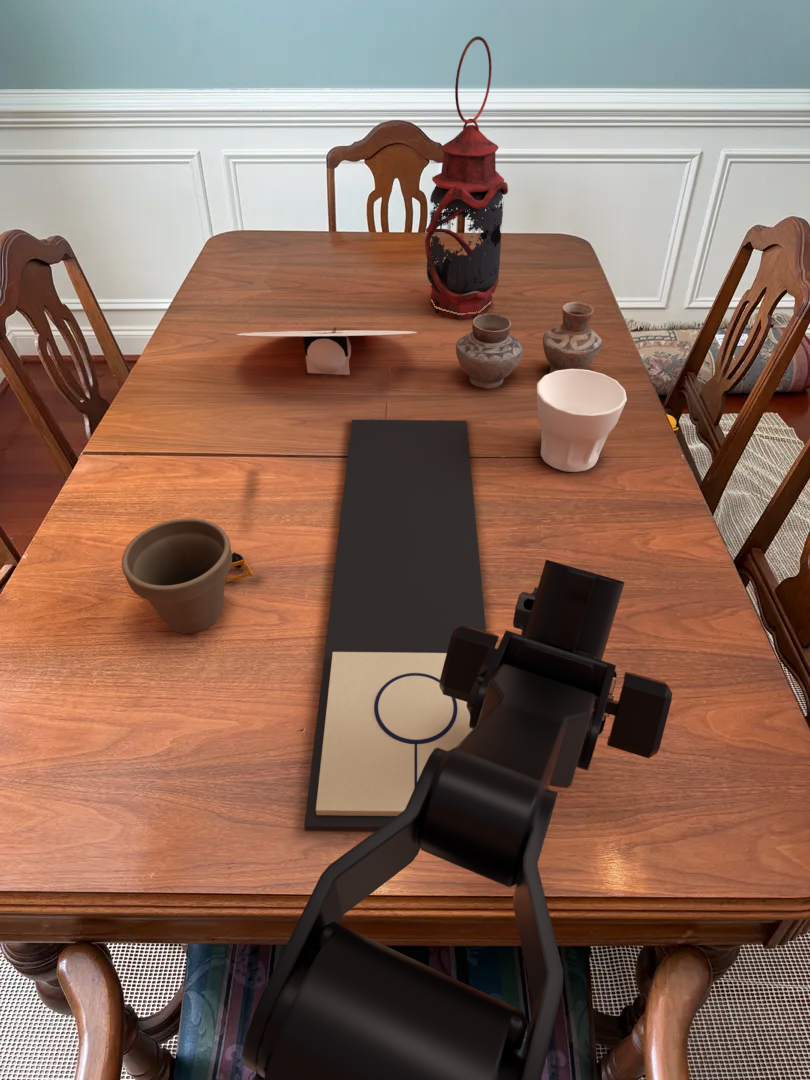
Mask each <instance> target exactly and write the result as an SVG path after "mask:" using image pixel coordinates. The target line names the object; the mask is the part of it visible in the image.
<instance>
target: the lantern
mask: <svg viewBox="0 0 810 1080" xmlns="http://www.w3.org/2000/svg"><path fill="white" fill-rule="evenodd" d="M476 41H481V42H482V44H483V45H484V47H485V49H486V50H485V51H486V53H487V60H488V78H487V86H486V92H485V95H484V99H483V102H482V105H481V106H480V109H479V111H478V112H477V114H476V115H475V117H474V118H468V119H466V118H464V116H463V114H462V112H461V109H460V103H459V81H460V74H461V70H462V64H463V61H464V58H465V56H466V53H467V52H468V50H469V48H470V46H471V45H472V44H473V43H474V42H476ZM491 82H492V55H491V49H490V46H489V44H488V42H487V41H486V39H485V37H484V38H483V37H482V36H475V37H473V38H471V39H469V41H468V42H467V44H466V45H465V47H464V49H463V51H462V53H461V56H460V59H459V63H458V66H457V70H456V77H455V84H454V85H455V86H454V95H455V96H454V98H455V106H456V111H457V114H458V116H459V118H460V120H461V121H462V122H463V123H464V124H463V127H462V130H461V131H460V132H459V133H458V134H457V135H456V136H455V137H453V138H452V139H451V140H449V141H447V142H446V143H444V144H442V146H441V148H440V149H441V150H442V152H443V156H442V165H441V171H440V173H437V174H436V175H434V176H432V177H431V181H432V182H433V183H434V185H435V186H434V188H433V190H432V192H431V194H430V198H429V199H430V200H429V202H430V203H429V204H430V205H432V206H433V207H432V208H430V212H429V224H428V226H427V228H426V229H425V233H426V236H425V239H424V249H425V257H426V277H427V280H428V282H429V283H430V284H431V285H430V287H431V292H430V299H429V300H430V301H429V303H430V306H431V308H432V309H433V311H434V313H435V314H438V315H441V316H445V317H448V318H453V319H456V320H467V319H468V320H469V319H474V318H475V317H477V316H479V315H482V314H486V312H487V311H489V310H490V309H491V308H492V303H491V304H490V305H488V306H487V307H486V308H485V309H484V310H482V311H481V312H480V313H476V314H465V315H457V314H453V313H450V312H446V311H442V310H439V309H436V308H435V307H434V305H433V303H432V302H431V299H432V300H433V302H434V304H435V306H437V307H440V308H442V309H446V310H449V311H453V312H457V313H468V312H476V311H477V312H478V311H480V310H481V309H482V308H483V307H484V306H485V305H487V304H488V303H489V302H490V301H491V300H492V301H493V294H494V293H495V291H496V289H497V287H498V284H499V276H500V275H499V274H500V265H501V249H502V230H503V228H502V226H503V217H504V214H503V213H504V209H503V208H504V206H503V204H504V201H503V199H504V196H505V195H507V194H508V193H509V187H508V186H509V185H508V183H507V182H506V181H505V178H504V177H503V176H502V175H500V173H499V172H498V171H497V170H496V169H497V168H496V166H497V165H496V152H497V151H498V149H499V145H497V144H496V143H495V142H494V141H491V140H490V139H489V138H487V136H486V135H484V134H483V132H482V131H481V130H480V127H479V125H478V122H477V120H478V118H480V116H481V114H482V112H483V111H484V109H485V106H486V103H487V100H488V97H489V93H490V88H491ZM472 123H473V124H472ZM460 217H462V218H464V219H466V220H467V221H468V220H469V224H467V227H468V226H469V227H468V229H467V230H468V232H471V231H472V230H475V231H476V232H477V231H479V230H480V231H482V232H480V233H477V236H478V237H477V239H476V242H475V243H474V244H475V247H474V248H473V249H472V248H471V247H470V246H472V243H473V241H471V240H467V242H466V241H465V240H464V238H462V237H461V236H460V235H458V233H456V232H454V231H453V230H450V229H449V228H443V227H444V226H446V225H447V226H448V225H449V223H450V222H451V221H455V220H456V219H457V218H460ZM472 222H473V223H472ZM450 224H451V225H452V226H455V225H454V223H453V222H451V223H450ZM452 226H450V228H452ZM464 226H466V225H465V224H463V227H464ZM434 234H446V235H449V236H450V237H452V238H453V239H455V241H456V242H458V244H459V245H460V246H461V247H460V249H459V250H455V251H453V252H451V249H450V248H447V249H446V248H445V245H446V244H445V242H446V240H447V239H444V240H443V241H441V239H440V237H438V235H435V236H434ZM471 238H473V235H472V234H471ZM479 241H480V242H479ZM441 242H443V244H441ZM464 252H465V254H464ZM460 253H461V254H460Z"/></svg>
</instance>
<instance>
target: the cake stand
mask: <svg viewBox="0 0 810 1080" xmlns="http://www.w3.org/2000/svg"><path fill="white" fill-rule="evenodd" d="M417 333H418V332H417V331H413V330H411V331H409V330H369V329H368V330H363V329H362V330H361V329H360V330H357V329H356V330H355V329H353V330H350V329H349V330H347V329H346V330H343V329H342V330H337V328H336V326H335V327H334V328H333V329H332V330H289V331H283V330H282V331H255V332H241V333H236V336H249V337H250V336H251V337H302V339H303V340H302V341H303V347H304V348H303V349H304V354H305V362H306V369H307V373H308V374H322V375H323V374H324V375H325V374H326V375H343V376H350V375H351V373H350V372H351V371H350V359H351V354H352V345H351V341H350V339H349V336H350V337H351V336H353V337H354V336H355V337H356V336H357V337H358V336H387V335H392V336H393V335H406V334H407V335H409V334H417Z"/></svg>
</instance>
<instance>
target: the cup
mask: <svg viewBox="0 0 810 1080" xmlns="http://www.w3.org/2000/svg"><path fill="white" fill-rule="evenodd" d="M627 401H628V399H627V393H626V390H625V388H624V387H623V386H622V384H620V382H619V381H617V380H616V379H614V378H612V377H610V376H609V375H607V374H604V373H601V372H597V371H593V370H589V369H583V370H582V369H566V370H558V371H554V372H552V373H550V372H549V373H548V374H545V375H544V376H543V377H541V378H540V379H539V381H538V382H537V383H536V413H537V414H536V415H537V419H538V420H539V422H540V433H541V434H540V435H541V436H540V439H541V444H540V445H541V446H540V457H541V458H542V460H543V461H544V463H546V464H547V465H548V466H550V467H552V468H554V469H557V470H560V471H563V472H569V473H570V472H571V473H577V472H584V471H585V472H586V471H588V470H590V469H591V468H593V467H594V466H595V465H596V464H597V462H598V461H599V457H600V454H601V451H602V449H603V448H604V445H605V443H606V441H607V439H608V437H609V435H610V432H612V431H613V429H614V428H615V427H616V425H617V424H618V422H619V419H620V417H621V415H622V412H623V410H624V407H625V405H626V402H627Z"/></svg>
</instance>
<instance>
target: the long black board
mask: <svg viewBox="0 0 810 1080" xmlns="http://www.w3.org/2000/svg"><path fill="white" fill-rule="evenodd" d="M349 434H350V435H349V441H348V449H347V459H346V467H345V476H344V482H343V483H344V484H343V493H342V500H341V501H342V503H341V511H340V518H339V527H338V536H337V544H336V553H335V560H334V561H335V562H334V570H333V577H332V587H331V595H330V603H329V610H328V611H329V613H328V621H327V628H326V629H327V630H326V636H325V637H326V638H325V646H324V656H323V664H322V670H321V671H322V673H321V679H320V680H321V681H320V688H319V690H320V691H319V699H318V707H317V716H316V724H315V732H314V739H313V740H314V742H313V748H312V758H311V765H310V766H311V767H310V775H309V782H308V784H309V785H308V792H307V800H306V808H305V817H304V830H305V831H352V832H353V831H354V832H355V831H358V832H361V831H363V832H367V831H369V832H376V831H377V830H378V829H380V828H381V827H382V826H384V825H385V824H387V823H388V822H389V821H391V820H392V819H393V818H395V817H396V816H398V815H399V814H400V813H402V812H403V811H404V810H405V809H406V806H407V804H408V802H409V800H410V797H411V795H412V793H413V791H414V788H415V786H416V784H417V782H418V779H419V777H420V775H421V773H422V770H423V768H424V766H425V764H426V762H427V760H428V758H429V756H430V754H431V753H432V752H433V750H434V749H435V748H440V749H443V750H446V751H449V750H451V749H453V748H455V747H456V746H457V745H458V744H459V743H460V742H461V741H462V740H463V739H464V738H465V737H466V736H467V735H468V734H469V733H470V732H471V731H472V730H473V729H471V728H470V727H469V723H470V713H469V711H468V709H467V702H465V701H462V700H459V699H456V698H453V697H449V696H446V695H443V693H442V691H441V689H440V687H439V684H440V678H441V674H442V670H443V666H444V662H445V658H446V654H447V650H448V647H449V643H450V639H451V636H452V634H453V631H454V630H456V629H457V628H459V627H461V626H468V627H471V628H475V629H479V630H482V631H486V632H487V624H486V615H485V603H484V594H483V592H484V591H483V583H482V573H481V561H480V552H479V542H478V540H479V539H478V529H477V519H476V509H475V498H474V488H473V487H474V486H473V477H472V468H471V455H470V447H469V436H468V435H469V434H468V423H467V420H453V419H452V420H450V419H449V420H447V419H444V420H442V419H438V420H437V419H351V423H350V431H349Z"/></svg>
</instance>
